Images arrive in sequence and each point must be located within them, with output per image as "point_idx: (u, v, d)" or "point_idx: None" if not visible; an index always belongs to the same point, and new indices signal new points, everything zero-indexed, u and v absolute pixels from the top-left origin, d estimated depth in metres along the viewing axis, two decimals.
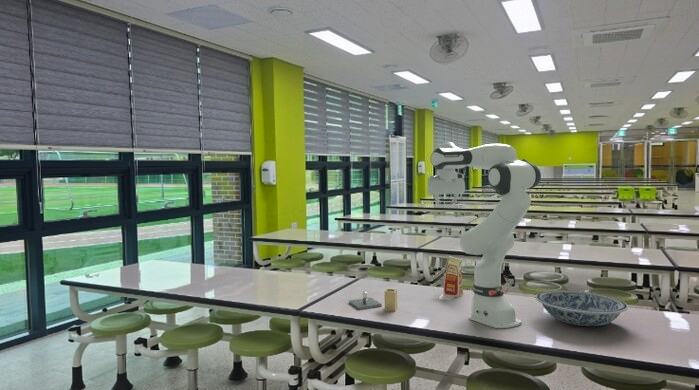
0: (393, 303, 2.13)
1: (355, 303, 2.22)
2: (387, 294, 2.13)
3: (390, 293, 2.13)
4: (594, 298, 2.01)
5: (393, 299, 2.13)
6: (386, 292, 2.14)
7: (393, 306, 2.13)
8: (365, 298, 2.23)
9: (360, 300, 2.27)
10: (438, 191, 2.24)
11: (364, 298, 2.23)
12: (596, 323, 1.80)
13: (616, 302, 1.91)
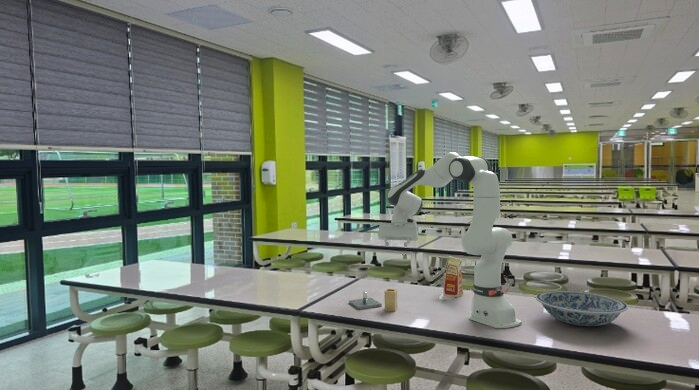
0: (393, 303, 2.13)
1: (355, 303, 2.22)
2: (387, 294, 2.13)
3: (390, 293, 2.13)
4: (594, 298, 2.01)
5: (393, 299, 2.13)
6: (386, 292, 2.14)
7: (393, 306, 2.13)
8: (365, 298, 2.23)
9: (360, 300, 2.27)
10: (386, 233, 2.31)
11: (364, 298, 2.23)
12: (596, 323, 1.80)
13: (616, 302, 1.91)
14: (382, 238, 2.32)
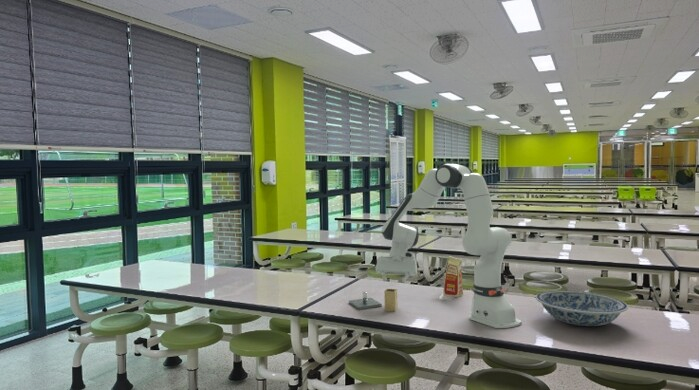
0: (393, 303, 2.13)
1: (355, 303, 2.22)
2: (387, 294, 2.13)
3: (390, 293, 2.13)
4: (594, 298, 2.01)
5: (393, 299, 2.13)
6: (386, 292, 2.14)
7: (393, 306, 2.13)
8: (365, 298, 2.23)
9: (360, 300, 2.27)
10: (384, 267, 2.27)
11: (364, 298, 2.23)
12: (596, 323, 1.80)
13: (616, 302, 1.91)
14: (380, 272, 2.28)
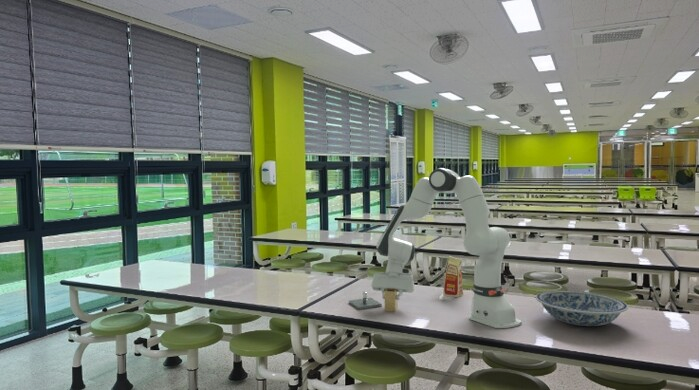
0: (393, 303, 2.13)
1: (355, 303, 2.22)
2: (387, 294, 2.13)
3: (390, 293, 2.13)
4: (594, 298, 2.01)
5: (393, 299, 2.13)
6: (386, 292, 2.14)
7: (393, 306, 2.13)
8: (365, 298, 2.23)
9: (360, 300, 2.27)
10: (380, 284, 2.20)
11: (364, 298, 2.23)
12: (596, 323, 1.80)
13: (616, 302, 1.91)
14: (376, 289, 2.21)
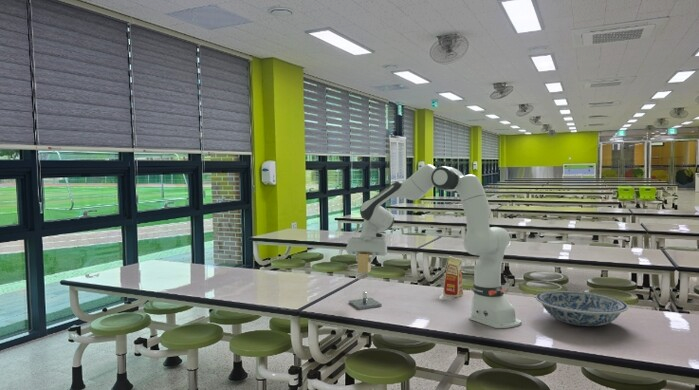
0: (366, 265, 2.20)
1: (355, 303, 2.22)
2: (360, 256, 2.21)
3: (363, 255, 2.20)
4: (594, 298, 2.01)
5: (366, 261, 2.20)
6: (359, 254, 2.21)
7: (366, 268, 2.20)
8: (365, 298, 2.23)
9: (360, 300, 2.27)
10: (354, 247, 2.27)
11: (364, 298, 2.23)
12: (596, 323, 1.80)
13: (616, 302, 1.91)
14: (350, 253, 2.28)
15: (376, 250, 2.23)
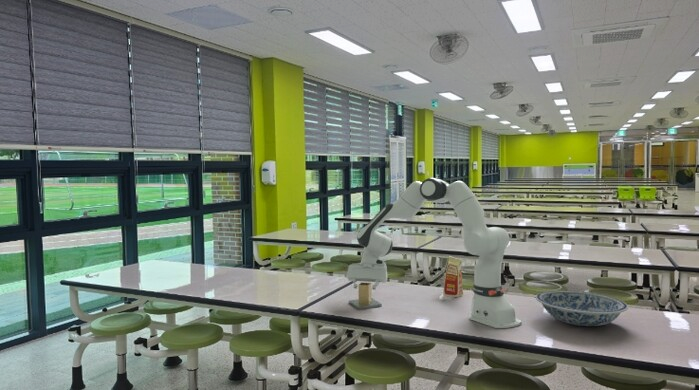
0: (367, 296, 2.21)
1: (355, 303, 2.22)
2: (361, 287, 2.21)
3: (364, 286, 2.21)
4: (594, 298, 2.01)
5: (367, 292, 2.21)
6: (360, 286, 2.22)
7: (367, 299, 2.21)
8: None
9: None
10: (355, 274, 2.27)
11: None
12: (596, 323, 1.80)
13: (616, 302, 1.91)
14: (351, 279, 2.29)
15: (376, 277, 2.23)
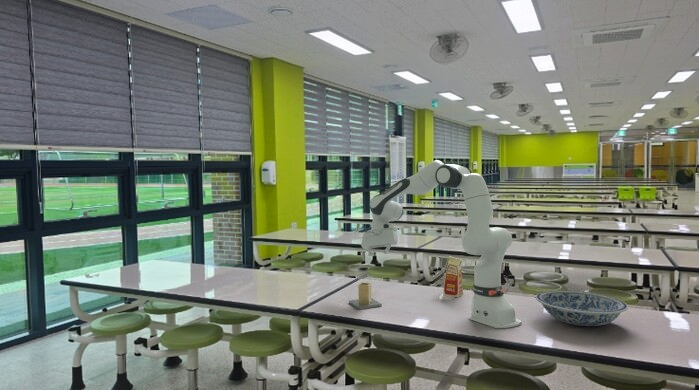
0: (367, 296, 2.21)
1: (355, 303, 2.22)
2: (361, 287, 2.21)
3: (364, 286, 2.21)
4: (594, 298, 2.01)
5: (367, 292, 2.21)
6: (360, 286, 2.22)
7: (367, 299, 2.21)
8: None
9: None
10: (368, 243, 2.37)
11: None
12: (596, 323, 1.80)
13: (616, 302, 1.91)
14: None
15: (386, 242, 2.31)
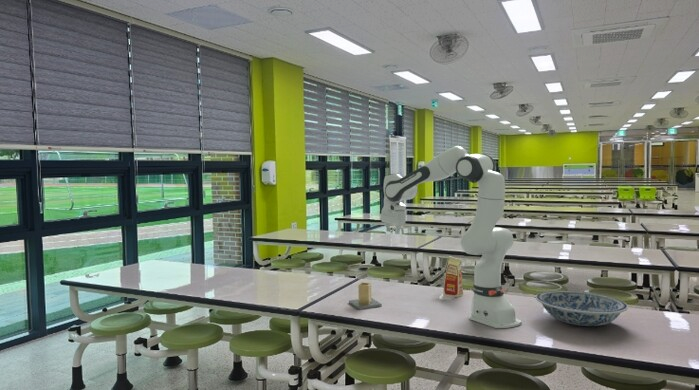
0: (367, 296, 2.21)
1: (355, 303, 2.22)
2: (361, 287, 2.21)
3: (364, 286, 2.21)
4: (594, 298, 2.01)
5: (367, 292, 2.21)
6: (360, 286, 2.22)
7: (367, 299, 2.21)
8: None
9: None
10: (384, 219, 2.39)
11: None
12: (596, 323, 1.80)
13: (616, 302, 1.91)
14: None
15: (395, 223, 2.29)
